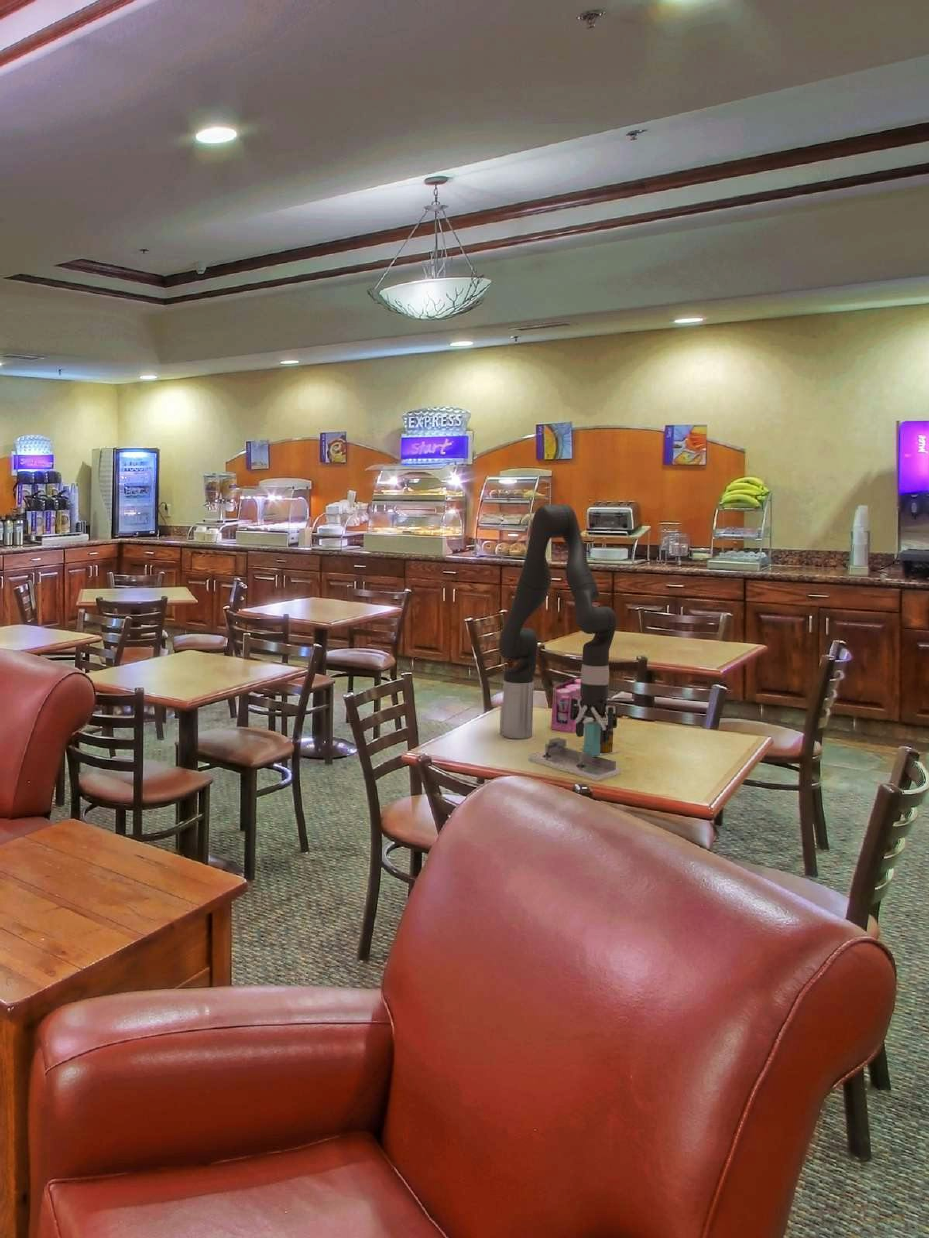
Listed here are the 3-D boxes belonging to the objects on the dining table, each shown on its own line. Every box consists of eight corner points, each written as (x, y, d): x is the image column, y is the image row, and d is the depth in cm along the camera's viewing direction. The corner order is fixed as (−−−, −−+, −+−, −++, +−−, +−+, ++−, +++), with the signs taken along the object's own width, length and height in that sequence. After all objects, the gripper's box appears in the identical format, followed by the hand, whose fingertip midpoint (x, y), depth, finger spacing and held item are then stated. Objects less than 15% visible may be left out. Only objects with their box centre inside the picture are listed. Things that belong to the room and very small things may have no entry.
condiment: (618, 752, 258) (620, 711, 256) (596, 756, 253) (598, 715, 252) (601, 745, 264) (603, 706, 262) (580, 749, 259) (581, 709, 258)
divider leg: (575, 763, 239) (577, 725, 237) (590, 759, 243) (592, 721, 242) (584, 766, 237) (585, 727, 235) (599, 761, 241) (601, 723, 240)
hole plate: (528, 760, 248) (529, 741, 247) (552, 753, 254) (552, 735, 254) (597, 781, 231) (598, 760, 230) (620, 773, 237) (621, 753, 237)
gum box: (572, 734, 276) (573, 691, 275) (548, 730, 280) (550, 688, 278) (599, 718, 297) (600, 678, 295) (576, 714, 301) (578, 675, 299)
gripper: (565, 678, 241) (563, 736, 243) (607, 687, 230) (605, 747, 233) (582, 674, 246) (580, 732, 248) (624, 683, 236) (622, 742, 238)
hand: (592, 739), depth 240 cm, fingers open, 8 cm apart
